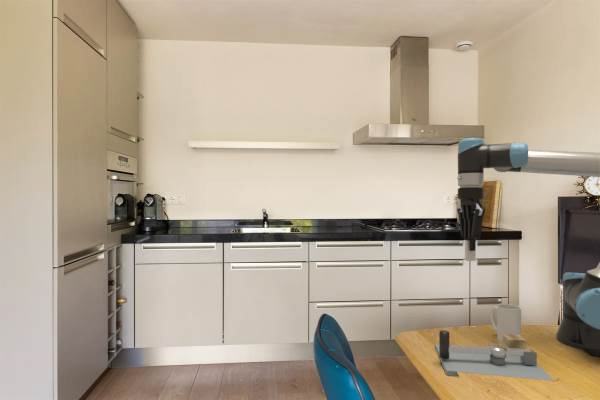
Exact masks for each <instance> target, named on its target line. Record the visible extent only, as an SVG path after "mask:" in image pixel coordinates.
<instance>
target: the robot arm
mask: <svg viewBox="0 0 600 400" xmlns="http://www.w3.org/2000/svg"><path fill="white" fill-rule="evenodd" d="M484 169H493V170H495V171H496V172H499V173H500V172H501V173H506V172H510V173H512V172H513V173H514V172H515V173H532V174H547V175H559V176H560V175H561V176H575V177H578V176H579V177H594V178H600V152H597V151H596V152H594V151H593V152H592V151H591V152H590V151H567V150H561V151H560V150H539V149H537V150H536V149H529V147H528V144H527V143H526V142H511V143H510V142H507V143H495V144H493V143H492V144H488V143H485V141H484V139H483V138H480V137H469V138H463V139H460V141H459V142H458V145H457V177H456V179H457V185H458V187H459V188H457V199H458V200H461V205H460V206H461V207H460V208H457V209H456V211H457V215H458V221H459V230H460V237H461V238H463V239H464V260H465V262H466V261H467V262H476V254H477V253H476V248H477V247H476V244H477V242H476V241H478V240H480V239H481V235H482V228H483V221H484V216H485V214H486V209H485V208H482V207H481V203H480V200H483V199H484V191H485V189H484V188H483V186H484V184H485V183H484V182H485V180H484V175H485V173H484V172H485V171H484ZM561 283H562V320H561V322H560V324H559V327H558V328H557V331H556V335H555V339H556V340H557V342H559V343H561V344H563V345H565V346H567V347H571V348H574V349H577V350H581V351H583V352H585V353H586V354H588V356H589V355H590V356H595V357H596V356H599V357H600V262H599V263H598V265H597V266H596V267H595V268H592V269H589V270H587V271H586V273H582V272H570V271H569V272H567V271H566V272H565V273H563V276H562V280H561Z"/></svg>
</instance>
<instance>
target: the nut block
mask: <svg viewBox="0 0 600 400" xmlns="http://www.w3.org/2000/svg"><path fill="white" fill-rule="evenodd" d="M502 346H504V347H506V348H515V349H527V340H526V339H525V338H523V336H520V335H511V334H503V342H502ZM512 356H516V355H512Z"/></svg>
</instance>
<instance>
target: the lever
mask: <svg viewBox="0 0 600 400" xmlns="http://www.w3.org/2000/svg"><path fill="white" fill-rule="evenodd" d="M438 334H439V336H438V337H439V339H438V340H439V342H438V344H439V356H438V358H439V357H440V358H442V359H449V353H469V354H489V355H491V356H493V357H496V358H506V357H507V355H516V356H520V361H521V362H522V363H524V364H525V365H537V364H538V361H537V360H538V354H537V352H536V351H534V350H533V349H529V348H526V349H515V348H506V347H504V346H503V345H502V344H501V345H500V344H495V343H494V344H488V346H482V345H481V346H478V345H477V346H476V345H460V344H459V345H458V344H457V345H456V344H450V331H448V330H446V329H445V330H444V329H441V330H439V333H438ZM440 358H439V359H440Z"/></svg>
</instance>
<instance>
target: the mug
mask: <svg viewBox="0 0 600 400" xmlns="http://www.w3.org/2000/svg"><path fill="white" fill-rule="evenodd" d="M495 314H496V321H495ZM489 315H490V316H489V317H490V323H491V326H492V330H493V332H494V331H495V332H496V335H497V337H496V338H497V341H499V342H500V343H503V334H511V335H520V336H521V332H522V331H521V330H522V328H521V327H522V307H520V306H519V305H515V304H511V303H509V304H508V303H498V304H496V305H493V306H492V309H491V311H490V314H489ZM521 337H522V336H521Z"/></svg>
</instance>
